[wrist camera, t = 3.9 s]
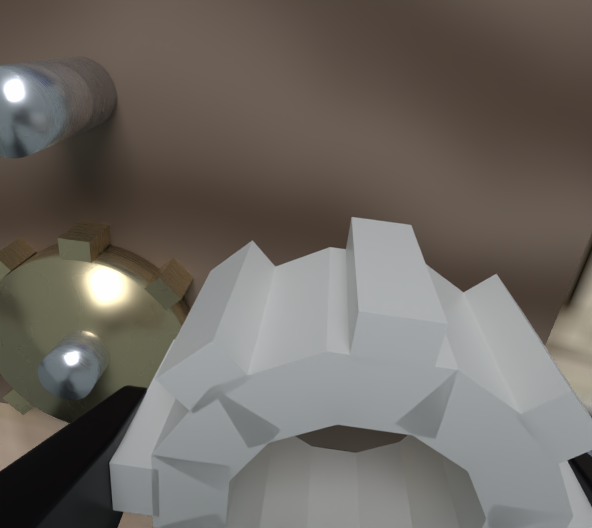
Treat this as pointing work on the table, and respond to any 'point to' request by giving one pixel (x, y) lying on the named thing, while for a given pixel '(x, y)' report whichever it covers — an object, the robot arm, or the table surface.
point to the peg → (51, 102)
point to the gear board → (321, 137)
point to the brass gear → (84, 320)
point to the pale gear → (354, 401)
